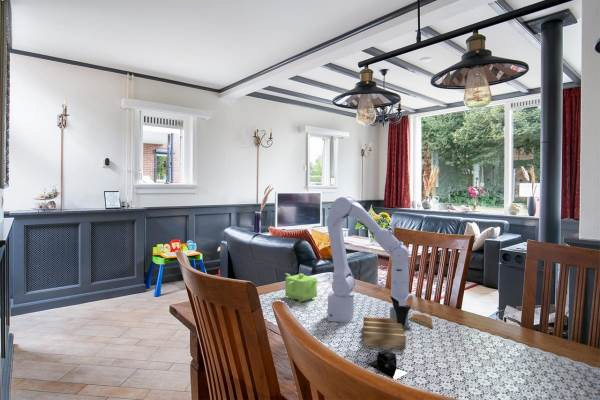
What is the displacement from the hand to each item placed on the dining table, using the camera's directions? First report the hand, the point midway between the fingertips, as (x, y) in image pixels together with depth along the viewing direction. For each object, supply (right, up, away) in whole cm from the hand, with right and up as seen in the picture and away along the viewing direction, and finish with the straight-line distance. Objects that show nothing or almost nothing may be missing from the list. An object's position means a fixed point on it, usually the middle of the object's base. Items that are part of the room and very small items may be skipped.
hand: (399, 320), depth 122 cm
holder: (0, -2, 0) cm, 2 cm away
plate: (0, -2, 0) cm, 2 cm away
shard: (+11, -3, +5) cm, 12 cm away
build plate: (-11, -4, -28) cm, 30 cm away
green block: (-34, -1, +32) cm, 46 cm away
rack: (-8, -2, -9) cm, 12 cm away
